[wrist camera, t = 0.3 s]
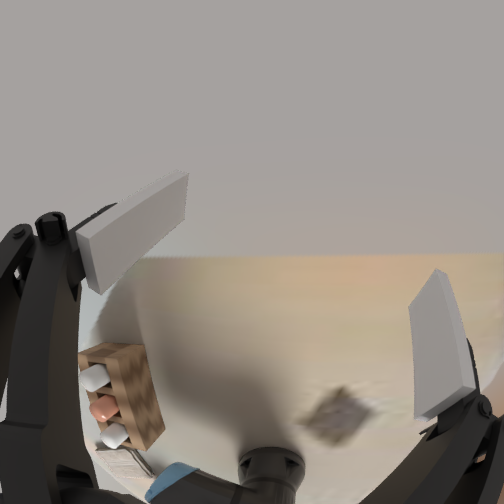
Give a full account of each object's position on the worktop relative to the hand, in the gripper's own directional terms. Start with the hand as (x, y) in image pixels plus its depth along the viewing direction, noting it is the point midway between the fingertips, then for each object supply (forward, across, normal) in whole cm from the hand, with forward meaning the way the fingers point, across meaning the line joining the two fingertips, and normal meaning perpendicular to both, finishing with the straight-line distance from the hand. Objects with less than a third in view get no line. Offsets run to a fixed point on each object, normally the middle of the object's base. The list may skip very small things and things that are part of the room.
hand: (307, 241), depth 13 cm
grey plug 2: (-3, +19, +57) cm, 60 cm away
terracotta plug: (+1, +22, +52) cm, 57 cm away
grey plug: (+5, +26, +47) cm, 54 cm away
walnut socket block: (+5, +22, +55) cm, 59 cm away
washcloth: (-12, +20, +81) cm, 84 cm away
